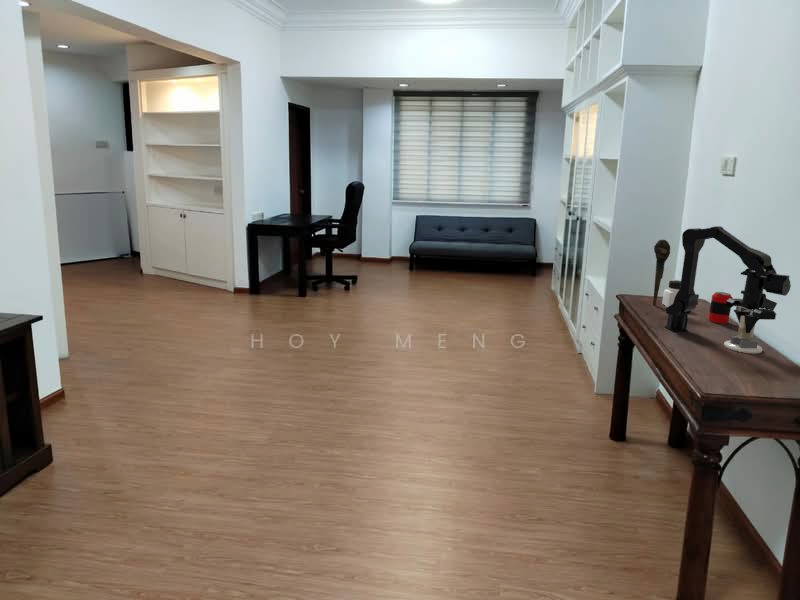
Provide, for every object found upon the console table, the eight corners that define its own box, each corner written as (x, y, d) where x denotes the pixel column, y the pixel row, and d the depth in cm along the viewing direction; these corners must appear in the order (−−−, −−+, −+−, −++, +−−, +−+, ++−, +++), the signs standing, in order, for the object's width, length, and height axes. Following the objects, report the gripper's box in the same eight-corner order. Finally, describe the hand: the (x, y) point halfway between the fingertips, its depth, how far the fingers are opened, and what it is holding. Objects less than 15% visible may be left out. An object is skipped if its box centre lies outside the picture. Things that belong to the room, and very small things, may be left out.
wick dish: (738, 353, 209) (740, 344, 208) (716, 342, 220) (718, 333, 219) (769, 353, 210) (771, 344, 209) (746, 343, 222) (748, 333, 221)
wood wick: (740, 338, 213) (744, 317, 211) (736, 337, 215) (741, 315, 213) (752, 338, 214) (756, 317, 212) (748, 337, 216) (752, 315, 214)
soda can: (704, 320, 252) (708, 292, 249) (714, 318, 256) (719, 290, 253) (721, 324, 246) (726, 296, 243) (731, 322, 250) (737, 294, 247)
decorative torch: (659, 307, 269) (669, 241, 262) (643, 304, 274) (653, 239, 266) (664, 305, 274) (674, 240, 267) (648, 302, 279) (658, 238, 271)
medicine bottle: (684, 308, 269) (688, 282, 267) (668, 308, 270) (672, 282, 267) (677, 305, 276) (681, 279, 274) (661, 304, 276) (665, 278, 274)
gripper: (794, 296, 202) (785, 340, 206) (756, 284, 220) (748, 324, 224) (764, 295, 201) (755, 340, 204) (728, 283, 219) (721, 324, 222)
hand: (745, 332), depth 214 cm, fingers closed on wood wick, 2 cm apart
